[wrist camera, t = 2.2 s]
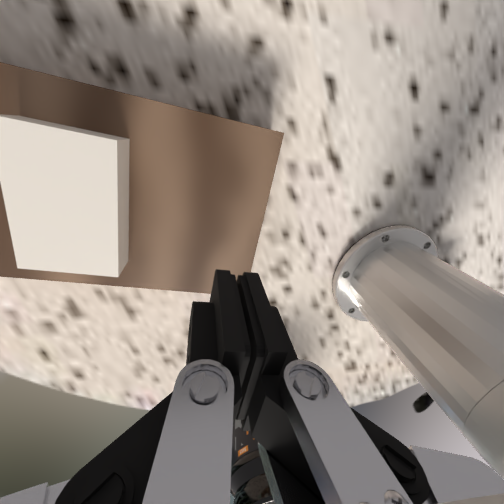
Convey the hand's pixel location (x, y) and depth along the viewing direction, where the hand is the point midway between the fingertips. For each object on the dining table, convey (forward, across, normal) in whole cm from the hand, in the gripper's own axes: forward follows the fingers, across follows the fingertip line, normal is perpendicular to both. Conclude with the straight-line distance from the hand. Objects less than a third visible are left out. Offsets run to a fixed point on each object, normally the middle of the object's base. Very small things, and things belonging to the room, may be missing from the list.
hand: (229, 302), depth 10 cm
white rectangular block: (+10, +9, 0) cm, 13 cm away
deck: (+15, +7, 0) cm, 16 cm away
